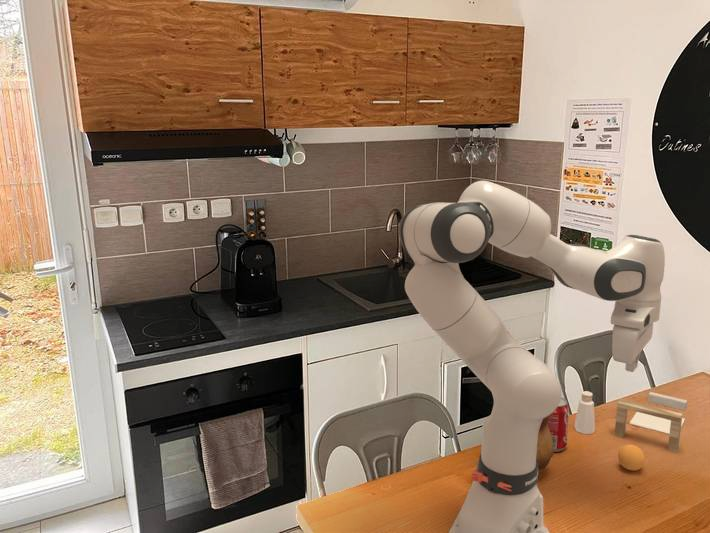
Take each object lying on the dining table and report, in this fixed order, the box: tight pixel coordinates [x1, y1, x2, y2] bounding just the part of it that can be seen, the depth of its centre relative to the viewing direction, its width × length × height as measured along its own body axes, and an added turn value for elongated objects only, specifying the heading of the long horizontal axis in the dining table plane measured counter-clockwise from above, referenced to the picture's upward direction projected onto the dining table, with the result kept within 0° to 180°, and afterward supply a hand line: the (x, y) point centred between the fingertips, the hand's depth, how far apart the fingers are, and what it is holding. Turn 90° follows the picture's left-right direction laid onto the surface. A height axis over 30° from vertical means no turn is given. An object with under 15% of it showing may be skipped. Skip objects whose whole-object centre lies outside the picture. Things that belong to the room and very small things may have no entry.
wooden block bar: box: [647, 391, 688, 411], centre depth 176 cm, size 2×10×2 cm, turn 52°
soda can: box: [548, 396, 570, 453], centre depth 152 cm, size 7×7×13 cm
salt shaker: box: [573, 390, 596, 435], centre depth 161 cm, size 5×5×11 cm
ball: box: [617, 444, 646, 471], centre depth 142 cm, size 6×6×6 cm
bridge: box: [614, 398, 683, 454], centre depth 154 cm, size 3×15×10 cm, turn 52°
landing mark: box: [629, 411, 686, 435], centre depth 166 cm, size 12×12×1 cm
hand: (631, 369), depth 129 cm, fingers closed
